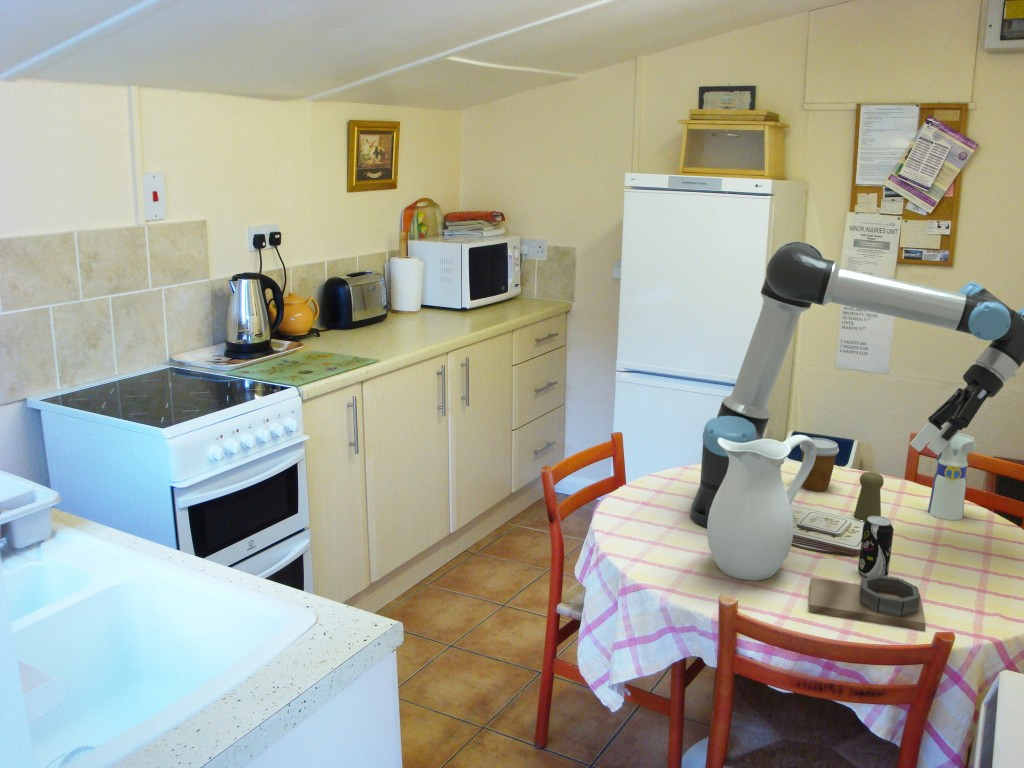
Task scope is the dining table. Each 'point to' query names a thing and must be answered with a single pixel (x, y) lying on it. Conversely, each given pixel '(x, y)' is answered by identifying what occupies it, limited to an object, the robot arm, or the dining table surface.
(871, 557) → the beverage can
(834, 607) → the socket plate
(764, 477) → the pitcher
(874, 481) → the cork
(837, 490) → the dining table surface
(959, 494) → the white tall figurine
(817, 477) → the disposable coffee cup
